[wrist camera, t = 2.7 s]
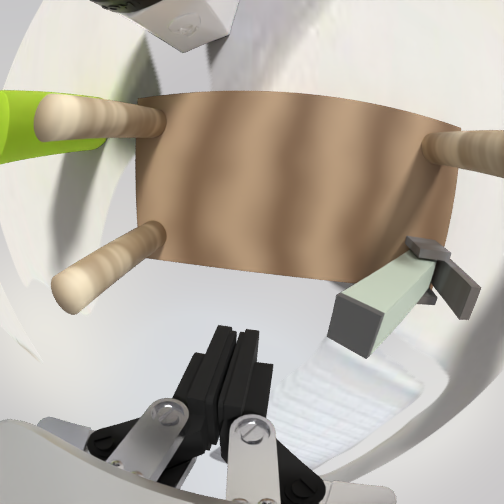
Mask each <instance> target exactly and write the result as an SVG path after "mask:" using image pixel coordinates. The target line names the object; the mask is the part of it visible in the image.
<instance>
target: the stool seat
mask: <svg viewBox="0 0 504 504" xmlns="http://www.w3.org/2000/svg"><path fill="white" fill-rule="evenodd" d="M34 132H35V135H36V137H37V139H38V140H39V141H41V142H51V141H62V140H75V139H93V138H136V159H135V162H136V163H135V164H136V167H135V169H136V207H137V224H138V227H137V228H135V229H133V230H131V231H130V232H128V233H126V234H124V235H122V236H121V237H119V238H117V239H115V240H113V241H112V242H110V243H108V244H107V245H105V246H103V247H101V248H99V249H98V250H96V251H94V252H93V253H91V254H89V255H88V256H86V257H84V258H83V259H81V260H79V261H78V262H76V263H74V264H73V265H71V266H70V267H68V268H66V269H65V270H63V271H62V272H60V273H59V274H57V275H55V276H54V277H53V278H52V281H51V289H52V293H53V296H54V298H55V300H56V302H57V303H58V304H59V306H60V307H61V308H62V309H63V310H64V311H66V312H67V313H69V314H72V315H75V314H77V313H79V312H80V311H81V310H82V309H83V308H85V307H86V306H87V305H88V304H89V303H90V302H92V301H93V300H94V299H95V298H96V297H98V296H99V295H100V294H101V293H102V292H104V291H105V290H106V289H107V288H109V287H110V286H111V285H112V284H114V283H115V282H116V281H117V280H119V279H120V278H121V277H122V276H124V275H125V274H126V273H127V272H129V271H130V270H131V269H132V268H133V267H135V266H136V265H137V264H139V263H140V262H141V261H143V260H144V259H145V258H149V259H157V260H164V261H171V262H179V263H186V264H194V265H202V266H209V267H217V268H225V269H233V270H241V271H249V272H257V273H266V274H274V275H283V276H292V277H301V278H311V279H319V280H328V281H338V282H348V283H358V282H359V281H361V280H363V279H364V278H366V277H368V276H369V275H371V274H372V273H374V272H376V271H377V270H379V269H380V268H382V267H384V266H385V265H387V264H388V263H390V262H391V261H393V260H395V259H396V258H398V257H399V256H401V255H402V254H404V253H405V252H407V251H408V250H410V249H411V250H412V251H413V252H414V253H415V254H416V255H417V256H418V257H419V258H427V259H434V260H437V262H436V265H435V269H434V272H433V276H432V279H431V282H430V285H429V288H428V289H427V291H426V292H425V293H424V294H423V296H422V297H421V298H420V300H419V301H418V302H417V303H416V304H426V305H435V303H436V301H437V296H436V295H435V294H434V292H433V291H432V288H433V286H434V288H435V289H436V290H437V291H438V293H439V294H440V295H441V296H442V298H443V299H444V300H445V301H446V303H447V304H448V305H449V307H450V308H451V309H452V311H453V312H454V313H455V315H456V316H457V317H458V319H459V320H469V318H470V315H471V313H472V311H473V308H474V306H475V303H476V301H477V298H478V295H479V293H480V290H481V287H480V286H479V285H478V284H477V283H476V282H475V281H474V280H473V279H472V278H471V277H470V276H468V275H467V274H466V273H465V272H464V271H463V270H462V269H461V268H460V267H459V266H458V265H456V264H455V263H454V262H453V261H452V260H451V259H450V256H451V252H449V251H448V250H447V249H446V248H444V246H445V242H446V237H447V233H448V228H449V224H450V219H451V214H452V208H453V202H454V196H455V190H456V183H457V175H458V168H461V169H466V170H471V171H475V172H480V173H485V174H489V175H493V176H497V177H501V178H504V130H479V131H461V128H459V127H457V126H454V125H451V124H448V123H445V122H442V121H439V120H435V119H432V118H429V117H425V116H422V115H418V114H415V113H411V112H407V111H403V110H399V109H395V108H391V107H386V106H382V105H377V104H372V103H367V102H361V101H356V100H350V99H343V98H336V97H329V96H321V95H312V94H302V93H289V92H272V91H210V92H192V93H180V94H169V95H160V96H152V97H145V98H138V104H137V105H135V104H129V103H124V102H118V101H112V100H105V99H99V98H91V97H83V96H75V95H65V94H53V93H52V94H48V95H46V96H45V97H44V98H43V99H42V100H41V101H40V103H39V105H38V107H37V109H36V112H35V116H34Z"/></svg>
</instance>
